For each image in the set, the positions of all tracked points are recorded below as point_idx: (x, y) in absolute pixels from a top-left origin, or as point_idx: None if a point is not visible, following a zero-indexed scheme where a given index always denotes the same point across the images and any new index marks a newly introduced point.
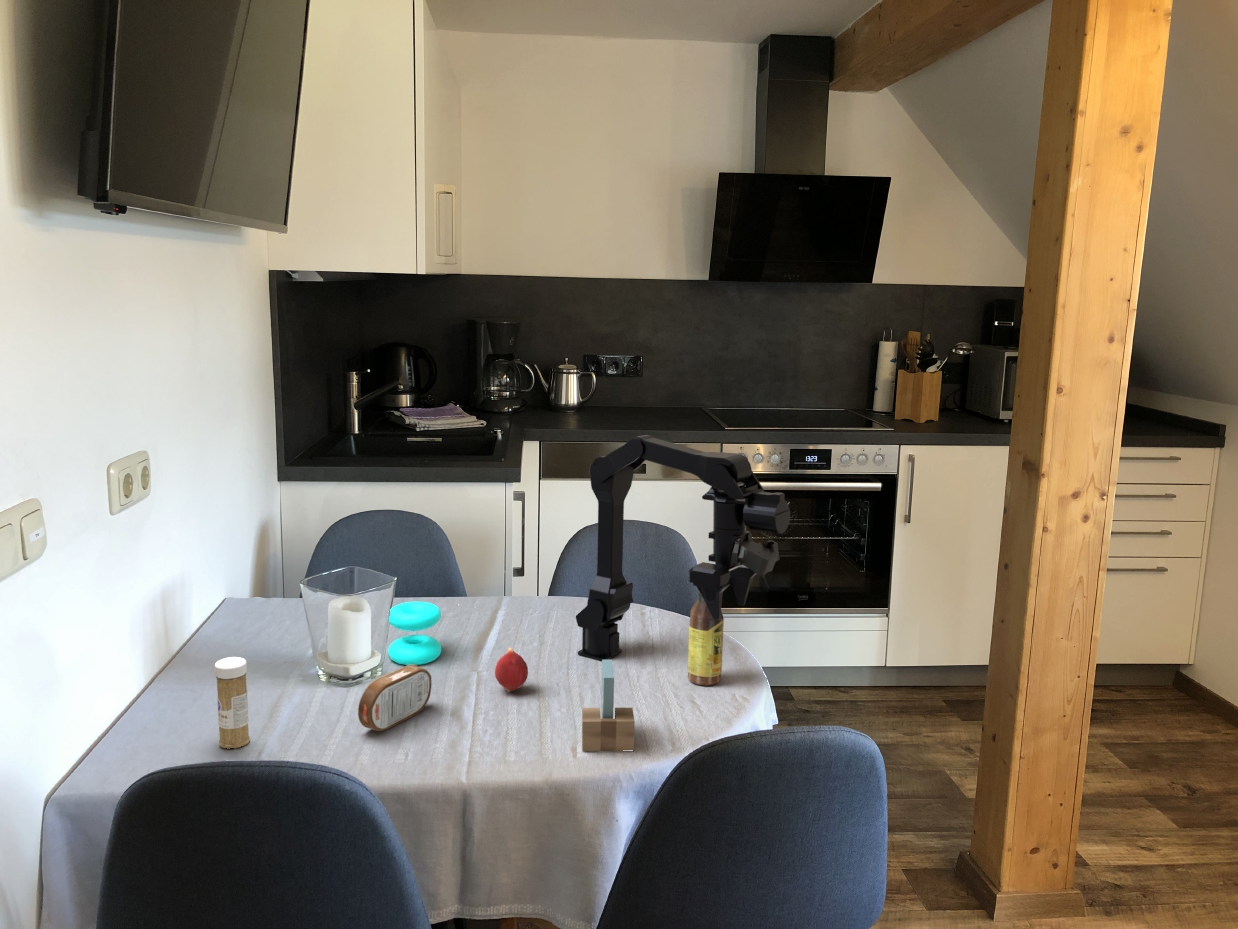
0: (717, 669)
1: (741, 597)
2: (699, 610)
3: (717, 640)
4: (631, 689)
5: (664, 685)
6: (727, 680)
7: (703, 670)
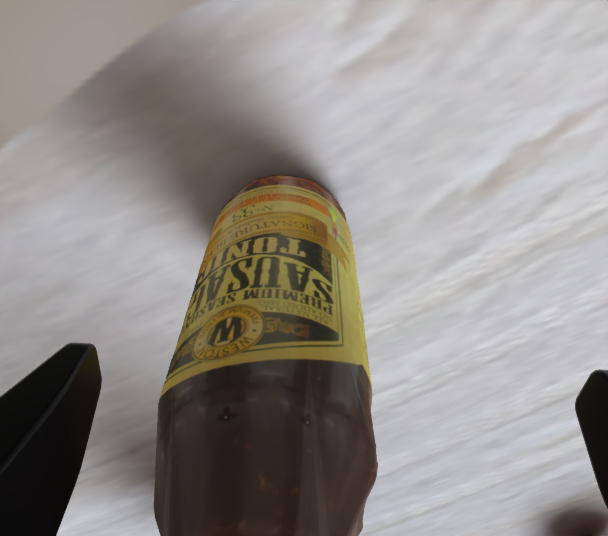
0: (302, 201)
1: (65, 433)
2: (360, 518)
3: (310, 286)
4: (469, 371)
5: (394, 314)
6: (223, 156)
7: (351, 243)
